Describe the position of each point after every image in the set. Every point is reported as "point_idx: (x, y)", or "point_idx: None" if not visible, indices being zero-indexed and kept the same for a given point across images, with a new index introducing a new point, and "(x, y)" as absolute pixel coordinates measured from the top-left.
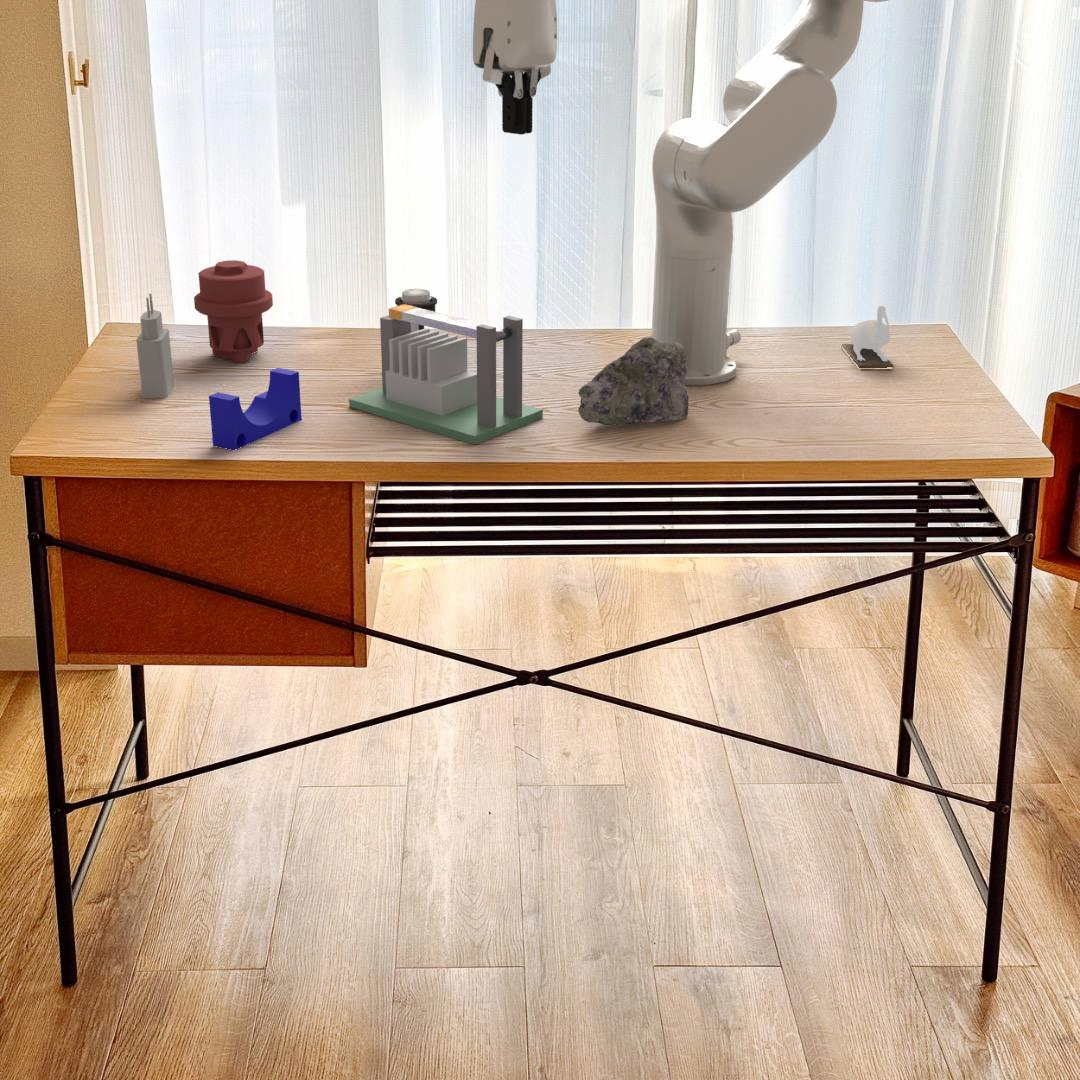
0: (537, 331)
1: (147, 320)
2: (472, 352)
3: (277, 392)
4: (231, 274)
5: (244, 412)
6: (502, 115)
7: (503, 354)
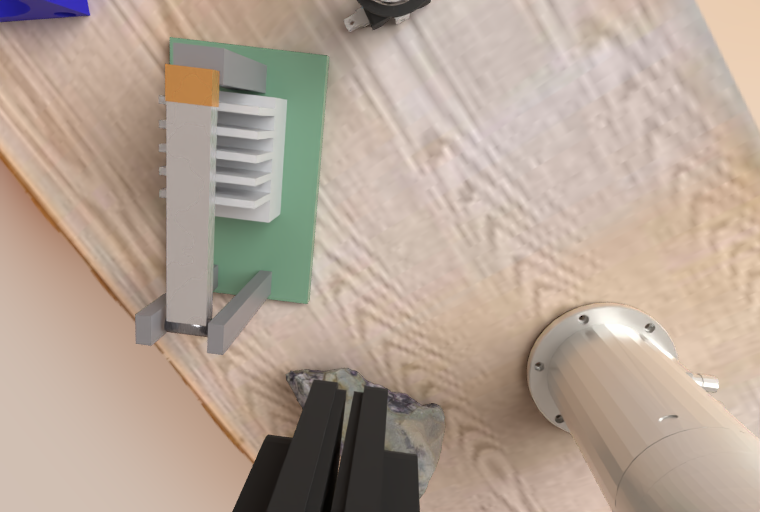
0: (708, 50)
1: None
2: (526, 26)
3: None
4: None
5: None
6: (297, 425)
7: (232, 299)
